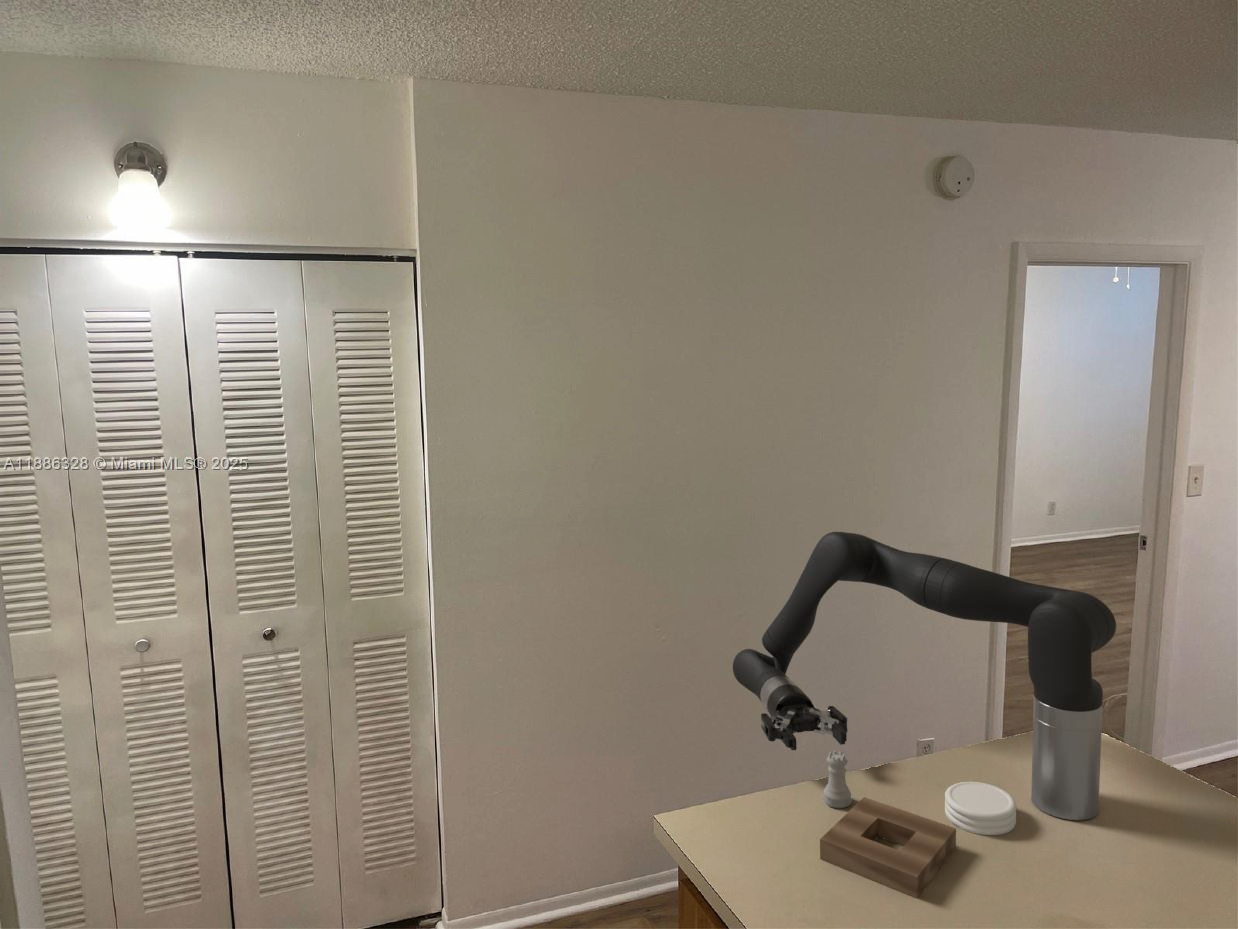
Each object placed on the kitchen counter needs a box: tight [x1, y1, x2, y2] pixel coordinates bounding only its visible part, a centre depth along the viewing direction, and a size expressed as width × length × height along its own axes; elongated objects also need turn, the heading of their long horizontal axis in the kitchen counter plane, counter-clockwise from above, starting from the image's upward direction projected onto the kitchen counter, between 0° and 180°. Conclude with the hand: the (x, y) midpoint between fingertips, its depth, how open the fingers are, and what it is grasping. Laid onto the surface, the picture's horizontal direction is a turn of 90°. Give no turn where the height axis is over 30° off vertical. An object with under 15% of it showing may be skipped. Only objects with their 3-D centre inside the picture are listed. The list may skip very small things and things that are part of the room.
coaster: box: [944, 781, 1017, 836], centre depth 127 cm, size 10×10×4 cm
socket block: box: [819, 796, 957, 899], centre depth 119 cm, size 14×14×3 cm
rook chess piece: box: [822, 750, 853, 809], centre depth 133 cm, size 4×4×8 cm
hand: (819, 742), depth 140 cm, fingers open, 8 cm apart
